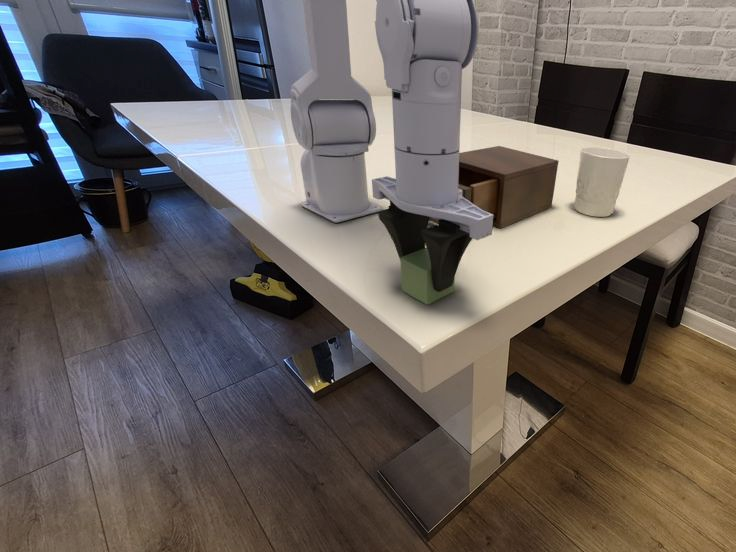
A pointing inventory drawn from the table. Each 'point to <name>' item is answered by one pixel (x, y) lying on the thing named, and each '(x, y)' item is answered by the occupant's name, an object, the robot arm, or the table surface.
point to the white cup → (599, 180)
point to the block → (420, 277)
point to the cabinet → (515, 180)
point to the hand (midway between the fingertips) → (428, 279)
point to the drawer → (479, 190)
